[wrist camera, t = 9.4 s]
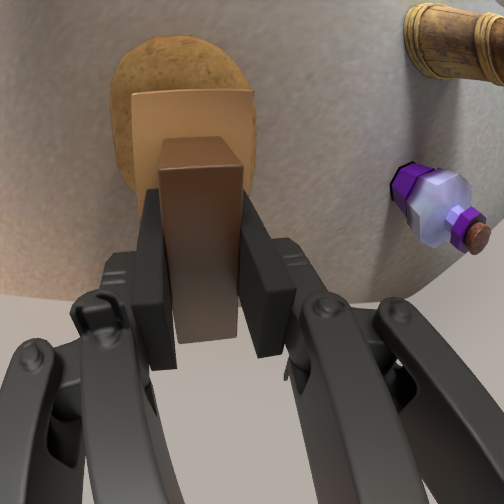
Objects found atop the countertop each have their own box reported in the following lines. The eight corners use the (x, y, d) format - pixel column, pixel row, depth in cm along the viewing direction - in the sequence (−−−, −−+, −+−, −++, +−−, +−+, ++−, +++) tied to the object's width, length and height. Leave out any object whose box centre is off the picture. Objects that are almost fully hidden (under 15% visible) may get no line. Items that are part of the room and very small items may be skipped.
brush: (140, 91, 13) (105, 101, 6) (237, 88, 14) (295, 97, 7) (155, 270, 19) (155, 374, 12) (231, 264, 20) (263, 362, 13)
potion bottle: (440, 183, 31) (509, 235, 22) (396, 229, 34) (458, 293, 24) (417, 133, 26) (504, 180, 17) (366, 184, 29) (443, 251, 19)
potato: (155, 221, 25) (151, 276, 19) (101, 69, 17) (66, 65, 11) (261, 187, 26) (294, 230, 19) (224, 30, 18) (247, 7, 11)
